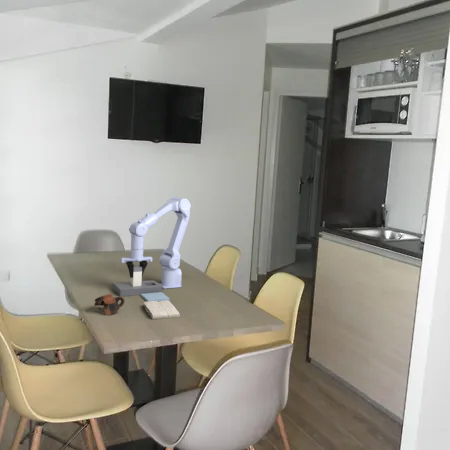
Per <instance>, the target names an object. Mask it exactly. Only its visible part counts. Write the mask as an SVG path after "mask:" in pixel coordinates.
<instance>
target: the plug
mask: <svg viewBox="0 0 450 450" xmlns="http://www.w3.org/2000/svg"><path fill="white" fill-rule="evenodd" d="M142 278H143V276H142V267H141V266H140V264H137V265H135V264H134V267H133V278H131V277H130V282H131V285H132V286H133V287H135V286H141V283H142V281H143V279H142Z"/></svg>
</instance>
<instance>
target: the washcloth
mask: <svg viewBox="0 0 450 450" xmlns="http://www.w3.org/2000/svg"><path fill="white" fill-rule="evenodd" d="M143 307H145V308H146V309H147V311H148V313H149V314H148V313H147V314H148V316H149V315H150V316H151V317H150V316H149V317H150V319H151V318H152V320H159V319H161V320H162V319H175V318H180V317H181V315H180V312H179V311H178V310H177V308H176V307H175V306H174V305H173V303H172V302H171V301H167V300H166V301H159V302H158V301H149V302H147V301H144V302H143ZM145 308H144V309H145ZM147 311H146V312H147Z"/></svg>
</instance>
